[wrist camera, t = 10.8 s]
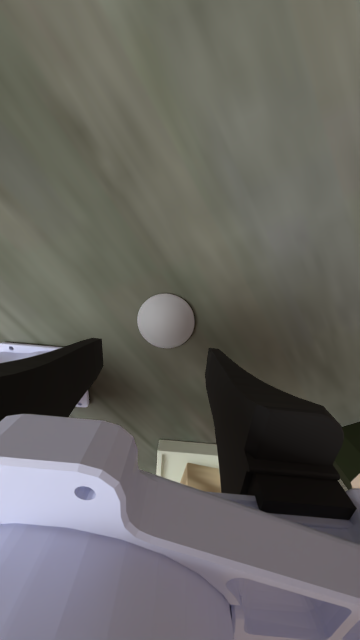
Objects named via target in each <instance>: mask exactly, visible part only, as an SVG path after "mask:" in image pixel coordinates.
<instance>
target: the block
mask: <svg viewBox="0 0 360 640" xmlns="http://www.w3.org/2000/svg"><path fill="white" fill-rule="evenodd" d="M180 483H181V484H184V485H187V486H190V487H193V488H196V489H199V490H202V491H205V492H217V493H221V483H220V474H219V469H217V468H212V467H207V466H202V465H197V464H192V463H187V465H186V467H185V470H184V473H183V476H182V479H181V481H180Z"/></svg>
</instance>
